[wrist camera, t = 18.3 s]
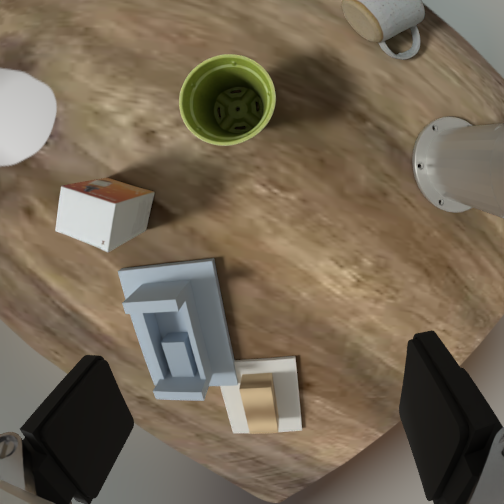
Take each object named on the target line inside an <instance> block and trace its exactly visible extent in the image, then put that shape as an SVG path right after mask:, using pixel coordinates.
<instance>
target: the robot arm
mask: <svg viewBox="0 0 504 504" xmlns="http://www.w3.org/2000/svg"><path fill="white" fill-rule="evenodd" d="M432 127H433V128H434V130H433V129H432ZM412 161H413V171H414V176H415V179H416V182H417V185H418V187H419V189H420V190H421V192H422V194H423V195H424V196H425V197H426V199H427V200H428V201H429V202H430V203H432V204H433V205H434V206H436V207H438V208H440V209H442V210H445V211H447V212H454V213H456V212H463V211H466V210H469V209H471V208H472V207H473V208H476V209H479V210H482V211H484V212H487V213H490V214H493V215H496V216H498V217H501V218H504V123H500V124H489V125H478V126H473V125H471V124H470V123H468V122H467V121H465V120H463V119H460V118H457V117H443V118H439V119H436V120H434V121H432V122H430V123H429V124H428V125H426V126H425V127H424V128H423V130H422V131H421V132H420V134H419V136H418V138H417V140H416V142H415V146H414V149H413V158H412ZM418 164H419V165H420V167H419V168H418ZM439 200H440V203H439ZM399 413H400V418H401V421H402V424H403V426H404V429H405V432H406V435H407V438H408V441H409V444H410V447H411V450H412V453H413V456H414V459H415V462H416V465H417V468H418V472H419V475H420V478H421V481H422V485H423V488H424V492H425V495H426V498H427V500H428V501H431V500H433V502H434V504H504V427H503V426H502V425H501V423H500V422H499V420H498V418H497V417H496V415H495V414H494V412H493V410H492V409H491V407H490V406H489V404H488V403H487V401H486V400H485V398H484V396H483V395H482V394H481V392H480V391H479V389H478V387H477V386H476V384H475V383H474V382H473V380H472V379H471V377H470V376H469V374H468V373H467V372H466V371H465V369H463V368H460V366H459V365H458V364H457V362H456V361H455V359H454V358H453V356H452V355H451V354H450V352H449V351H448V349H447V348H446V347H445V345H444V344H443V342H442V341H441V340H440V338H439V337H438V336H437V334H436V333H435V332H434V331H427V332H422V333H417V334H415V335H414V337H413V339H411V340H409V341H408V346H407V356H406V364H405V372H404V379H403V386H402V393H401V399H400V405H399ZM133 426H134V420H133V417H132V415H131V413H130V411H129V409H128V407H127V405H126V403H125V401H124V398H123V396H122V394H121V392H120V390H119V387H118V385H117V383H116V380H115V378H114V376H113V373H112V371H111V369H110V366H109V364H108V362H107V361H105V360H104V358H103V357H102V356H95V355H85V356H84V357H83V358H82V359H81V360H80V361H79V362H78V363H77V364H76V365H75V367H74V368H73V369H72V370H71V371H70V372H69V373H68V374H67V375H66V377H65V378H64V379H63V380H62V381H61V382H60V383H59V384H58V385H57V387H56V388H55V389H54V390H53V391H52V392H51V393H50V395H49V396H48V397H47V398H46V399H45V400H44V402H43V403H42V404H41V405H40V406H39V407H38V409H37V410H36V411H35V412H34V413H33V414H32V415H31V417H30V418H29V419H28V420H27V421H26V422H25V424H24V425H23V426H22V427H21V428H20V430H21V432H22V433H23V435H24V436H25V438H24V440H22V438H21V437H20V436H19V435H18V434H16V433H14V432H6V433H3V434H0V504H72V502H71V500H72V498H73V497H74V499H75V500H77V501H78V502H81V503H84V504H90V503H91V501H92V499H93V498H96V497H97V496H98V494H99V492H100V490H101V488H102V486H103V484H104V482H105V480H106V478H107V476H108V474H109V472H110V471H111V469H112V467H113V465H114V463H115V461H116V459H117V457H118V455H119V453H120V452H121V450H122V448H123V446H124V444H125V442H126V440H127V438H128V436H129V435H130V432H131V430H132V429H133Z"/></svg>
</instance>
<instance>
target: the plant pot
mask: <svg viewBox="0 0 504 504" xmlns="http://www.w3.org/2000/svg"><path fill="white" fill-rule="evenodd" d="M234 90H241V93H232V94H230V93H231V92H232V91H234ZM255 102H258V104H259V111H258V112H257V109H256V103H255ZM275 103H276V93H275V88H274V84H273V82H272V79H271V77H270V76H269V74H268V73H267V72H266V70H265V69H264V68H263V67H262V66H261V65H259V64H258V63H257V62H255V61H254V60H252V59H250V58H247V57H245V56H241V55H234V54H226V55H219V56H215V57H212V58H210V59H207V60H205V61H204V62H202V63H201V64H199V65H198V66H196V67H195V68H194V69H193V70H192V71H191V72H190V74H189V75H188V76H187V78H186V80H185V81H184V84H183V86H182V89H181V92H180V97H179V106H180V113H181V116H182V119H183V121H184V123H185V125H186V126H187V128H188V129H189V130H190V131H191V132H192V133H193V134H194V135H195V136H196V137H198V138H199V139H201V140H203V141H205V142H207V143H210V144H214V145H221V146H227V145H235V144H239V143H242V142H244V141H247V140H249V139H251V138H252V137H254V136H256V135H257V134H258V133H259V132H260V131H262V130H263V128H264V127H265V126H266V125H267V124H268V122H269V120H270V119H271V117H272V114H273V112H274V108H275ZM219 107H220V113H221V118H219V116H218V112H217V110H218V108H219ZM237 107H239V108H240V110H239V111H236V108H237ZM243 126H246V128H245V129H241V130H236V129H235V127H243Z"/></svg>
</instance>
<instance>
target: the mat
mask: <svg viewBox="0 0 504 504" xmlns="http://www.w3.org/2000/svg"><path fill="white" fill-rule="evenodd" d="M234 365H235V370H236V374H237V379H238V385H234V386H220V387H221V391H222V395H223V398H224V402H225V406H226V409H227V413H228V416H229V420H230V423H231V427H232V430H233V433H250V432H249V428H248V424H247V420H246V416H245V411H244V407H243V403H242V399H241V394H240V390H239V388H240V383H241V378H242V374H258V373H272V375H273V382H274V388H275V395H276V401H277V408H278V415H279V428H278V432H286V431H300V430H302V423H301V411H300V400H299V389H298V378H297V368H296V358H295V356H288V357H276V358H263V359H247V360H234Z"/></svg>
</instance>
